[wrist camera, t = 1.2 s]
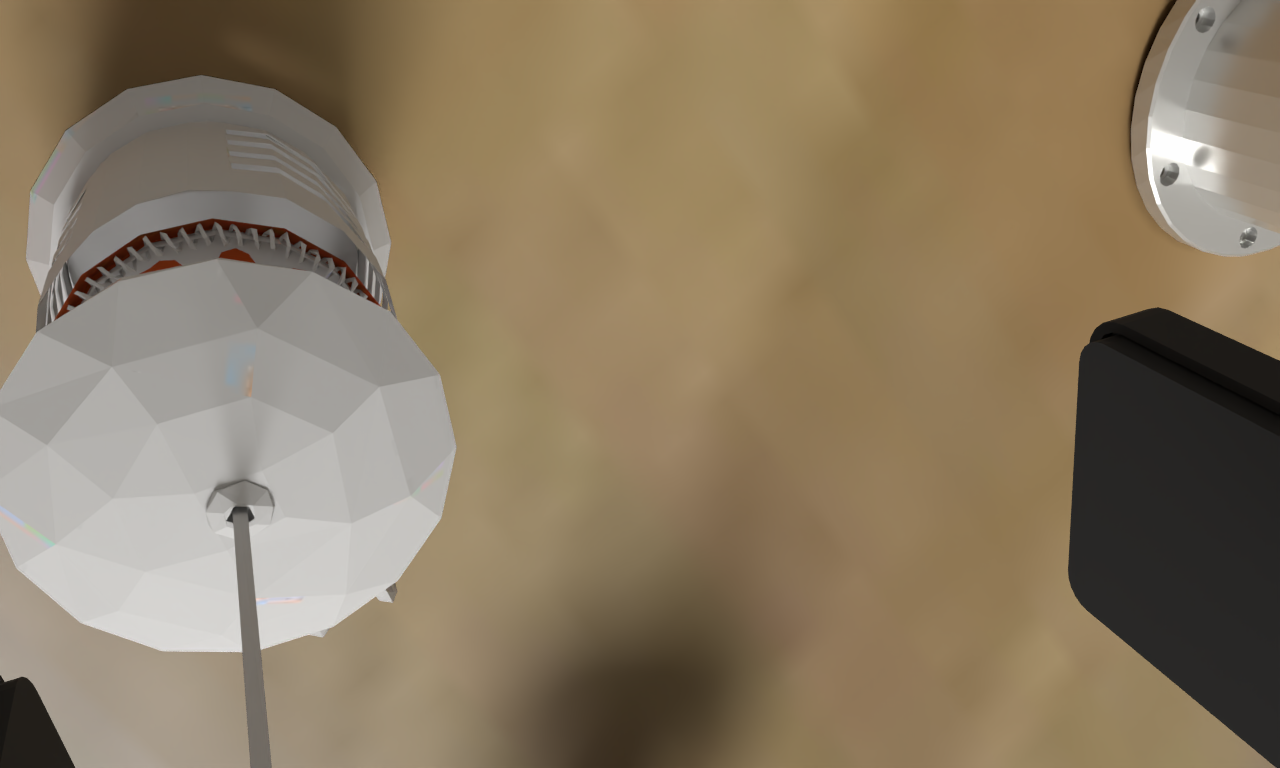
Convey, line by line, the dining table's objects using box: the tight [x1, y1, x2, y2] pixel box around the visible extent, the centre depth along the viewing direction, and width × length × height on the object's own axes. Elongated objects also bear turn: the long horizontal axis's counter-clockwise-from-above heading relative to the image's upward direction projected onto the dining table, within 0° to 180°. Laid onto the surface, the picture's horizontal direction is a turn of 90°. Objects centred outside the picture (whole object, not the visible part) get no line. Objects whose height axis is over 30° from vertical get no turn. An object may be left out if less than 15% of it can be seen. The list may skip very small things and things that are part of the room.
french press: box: [0, 75, 456, 768], centre depth 22 cm, size 10×12×25 cm
